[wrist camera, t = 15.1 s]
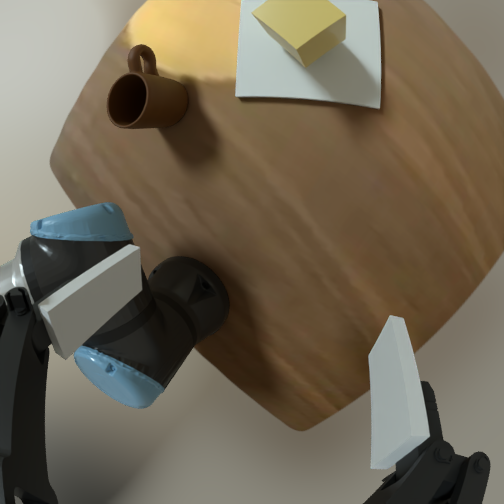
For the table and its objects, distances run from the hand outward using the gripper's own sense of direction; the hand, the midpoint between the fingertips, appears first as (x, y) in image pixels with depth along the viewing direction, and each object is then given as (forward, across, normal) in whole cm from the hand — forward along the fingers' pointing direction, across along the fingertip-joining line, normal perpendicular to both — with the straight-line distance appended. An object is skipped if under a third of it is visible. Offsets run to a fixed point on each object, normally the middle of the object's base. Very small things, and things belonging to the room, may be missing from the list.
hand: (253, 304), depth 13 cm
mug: (+25, -22, +13) cm, 36 cm away
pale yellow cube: (+21, -3, +21) cm, 30 cm away
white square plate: (+24, -3, +21) cm, 32 cm away
